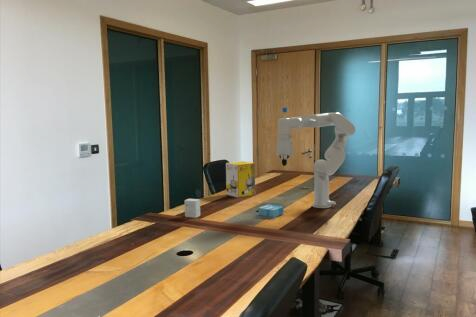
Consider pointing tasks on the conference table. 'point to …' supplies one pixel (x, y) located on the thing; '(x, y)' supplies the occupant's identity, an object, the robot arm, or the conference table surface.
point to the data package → (271, 210)
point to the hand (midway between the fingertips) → (284, 165)
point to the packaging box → (240, 179)
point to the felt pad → (263, 216)
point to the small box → (192, 208)
